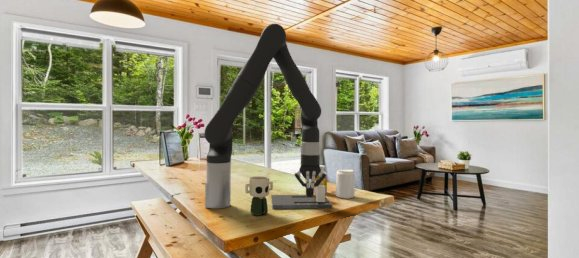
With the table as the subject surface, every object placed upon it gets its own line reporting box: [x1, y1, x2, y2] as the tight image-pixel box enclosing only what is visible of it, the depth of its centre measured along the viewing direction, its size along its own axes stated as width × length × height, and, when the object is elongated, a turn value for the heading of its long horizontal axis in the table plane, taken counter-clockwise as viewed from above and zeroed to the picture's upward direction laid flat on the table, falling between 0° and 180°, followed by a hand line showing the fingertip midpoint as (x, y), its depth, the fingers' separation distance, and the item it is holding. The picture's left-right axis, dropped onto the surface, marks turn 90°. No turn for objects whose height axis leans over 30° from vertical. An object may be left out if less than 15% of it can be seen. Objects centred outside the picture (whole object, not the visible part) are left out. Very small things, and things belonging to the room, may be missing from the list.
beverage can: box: [335, 168, 356, 200], centre depth 135 cm, size 8×8×12 cm
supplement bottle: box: [314, 164, 328, 195], centre depth 142 cm, size 7×7×13 cm
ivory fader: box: [316, 186, 326, 202], centre depth 120 cm, size 3×2×6 cm
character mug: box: [244, 175, 274, 216], centre depth 109 cm, size 11×7×13 cm, turn 122°
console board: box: [270, 194, 333, 210], centre depth 124 cm, size 23×16×2 cm
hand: (309, 196), depth 120 cm, fingers closed
